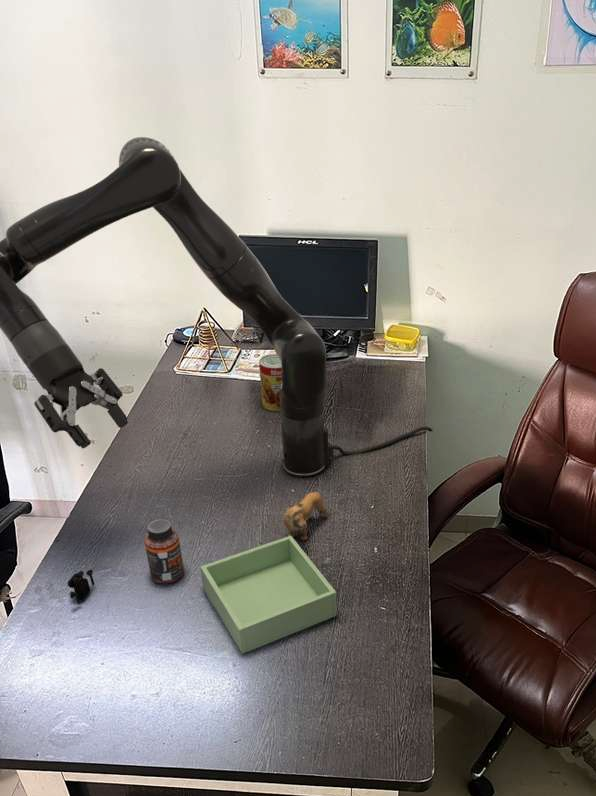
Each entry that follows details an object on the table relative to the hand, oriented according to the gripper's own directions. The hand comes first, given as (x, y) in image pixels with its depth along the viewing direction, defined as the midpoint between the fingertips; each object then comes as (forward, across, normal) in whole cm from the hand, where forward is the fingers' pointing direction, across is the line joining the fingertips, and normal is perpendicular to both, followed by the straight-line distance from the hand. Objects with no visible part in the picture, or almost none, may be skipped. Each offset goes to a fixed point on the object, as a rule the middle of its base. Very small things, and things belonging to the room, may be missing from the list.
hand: (106, 435), depth 127 cm
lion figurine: (+36, +22, -3) cm, 42 cm away
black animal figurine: (+21, -13, +16) cm, 29 cm away
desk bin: (+40, +2, -7) cm, 40 cm away
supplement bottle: (+26, -1, +9) cm, 28 cm away
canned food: (+12, +62, +22) cm, 67 cm away
